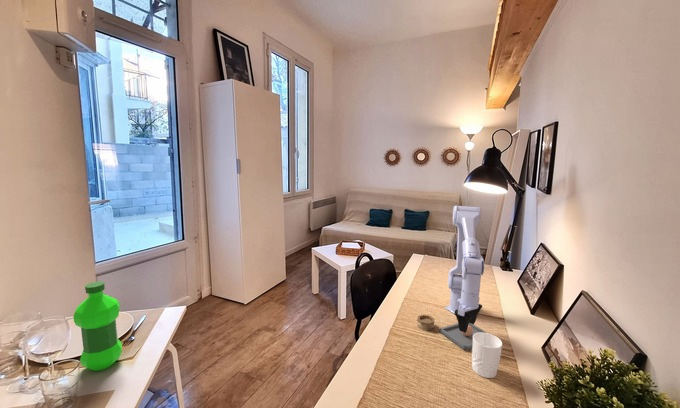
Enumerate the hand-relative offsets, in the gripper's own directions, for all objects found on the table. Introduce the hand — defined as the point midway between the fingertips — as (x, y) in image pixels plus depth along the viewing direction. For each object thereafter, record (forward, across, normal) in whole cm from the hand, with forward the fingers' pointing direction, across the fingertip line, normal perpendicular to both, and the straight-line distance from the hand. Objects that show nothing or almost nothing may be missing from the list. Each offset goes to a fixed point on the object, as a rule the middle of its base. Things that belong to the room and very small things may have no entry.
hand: (467, 327), depth 107 cm
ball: (+3, 0, 0) cm, 3 cm away
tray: (+4, 0, 0) cm, 4 cm away
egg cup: (+4, +4, -14) cm, 15 cm away
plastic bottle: (+4, +93, -71) cm, 117 cm away
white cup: (+4, +14, +11) cm, 18 cm away
